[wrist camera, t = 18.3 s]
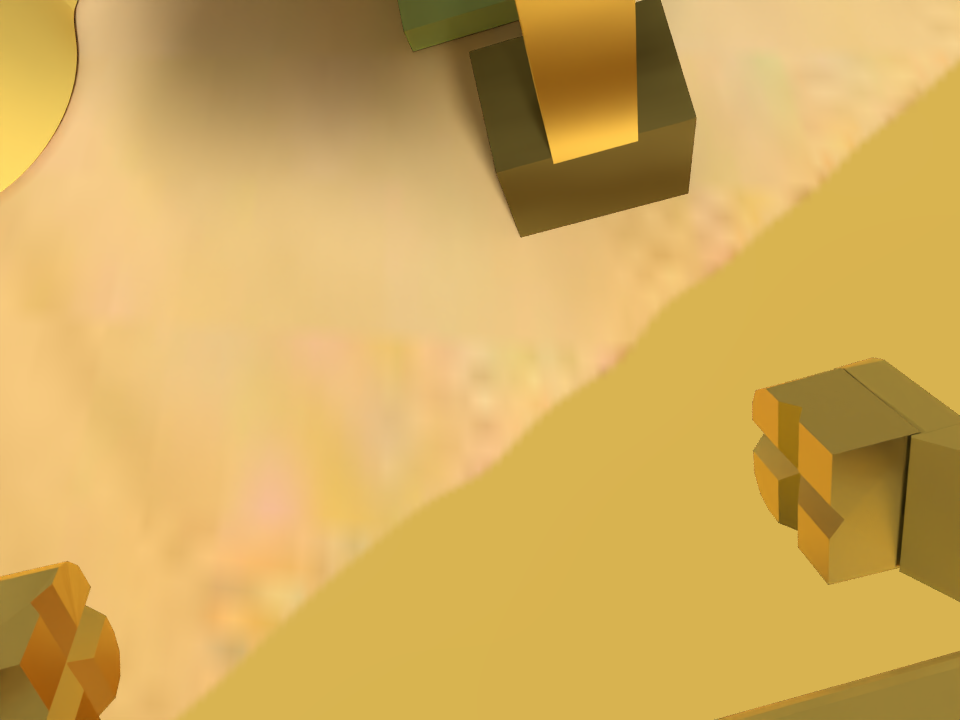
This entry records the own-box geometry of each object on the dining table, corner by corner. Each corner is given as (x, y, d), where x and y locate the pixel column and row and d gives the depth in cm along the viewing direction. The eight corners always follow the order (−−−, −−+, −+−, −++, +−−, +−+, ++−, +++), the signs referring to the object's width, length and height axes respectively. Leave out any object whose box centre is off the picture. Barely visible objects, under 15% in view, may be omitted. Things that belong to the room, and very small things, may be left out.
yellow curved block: (520, 237, 35) (496, 133, 36) (688, 193, 34) (657, 87, 36) (400, -80, 18) (363, -256, 19) (729, -186, 17) (667, -362, 18)
